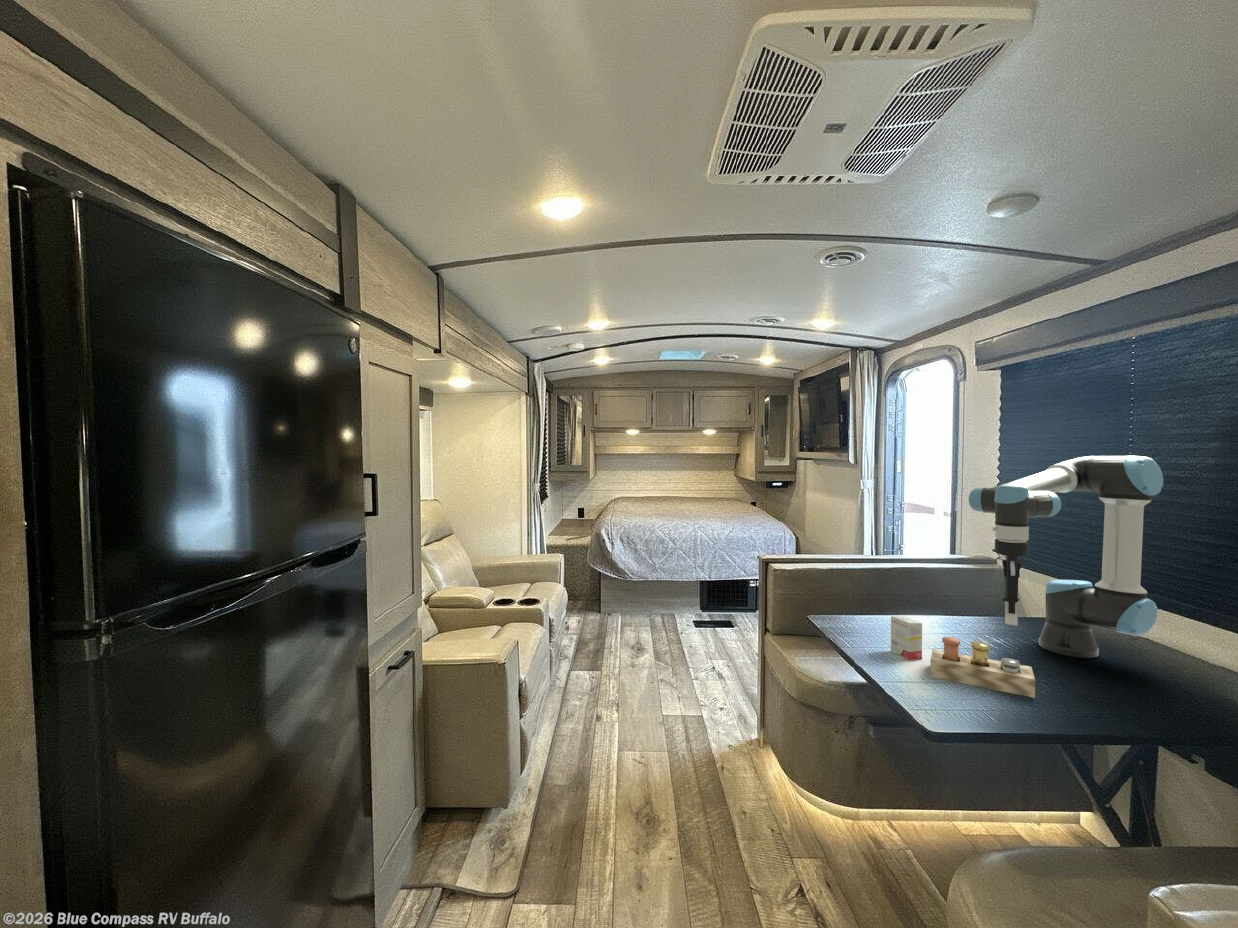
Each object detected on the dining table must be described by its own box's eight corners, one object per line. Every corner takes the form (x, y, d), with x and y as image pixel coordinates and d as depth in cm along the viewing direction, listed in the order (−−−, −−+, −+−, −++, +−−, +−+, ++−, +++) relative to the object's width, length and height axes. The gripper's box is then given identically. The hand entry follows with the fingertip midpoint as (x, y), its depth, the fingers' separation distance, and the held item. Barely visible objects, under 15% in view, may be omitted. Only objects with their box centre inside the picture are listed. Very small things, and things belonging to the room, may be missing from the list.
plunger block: (1031, 684, 147) (1031, 666, 146) (1034, 697, 138) (1035, 679, 138) (932, 665, 160) (932, 649, 160) (930, 676, 152) (930, 659, 152)
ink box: (923, 659, 165) (923, 622, 165) (910, 660, 164) (910, 623, 163) (902, 649, 173) (902, 614, 173) (890, 650, 172) (890, 615, 172)
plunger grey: (1019, 682, 146) (1019, 660, 146) (1020, 688, 142) (1021, 665, 142) (1000, 679, 148) (1000, 656, 148) (1001, 684, 145) (1001, 661, 145)
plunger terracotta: (960, 660, 154) (960, 638, 153) (959, 665, 150) (960, 643, 150) (942, 657, 156) (942, 635, 156) (942, 662, 152) (942, 640, 152)
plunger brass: (989, 665, 150) (989, 643, 150) (989, 670, 146) (989, 648, 146) (970, 662, 152) (970, 640, 152) (970, 667, 148) (970, 645, 148)
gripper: (993, 536, 152) (993, 615, 152) (995, 542, 141) (995, 628, 142) (1026, 538, 148) (1026, 619, 148) (1030, 545, 137) (1030, 633, 137)
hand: (1011, 623), depth 145 cm, fingers closed
